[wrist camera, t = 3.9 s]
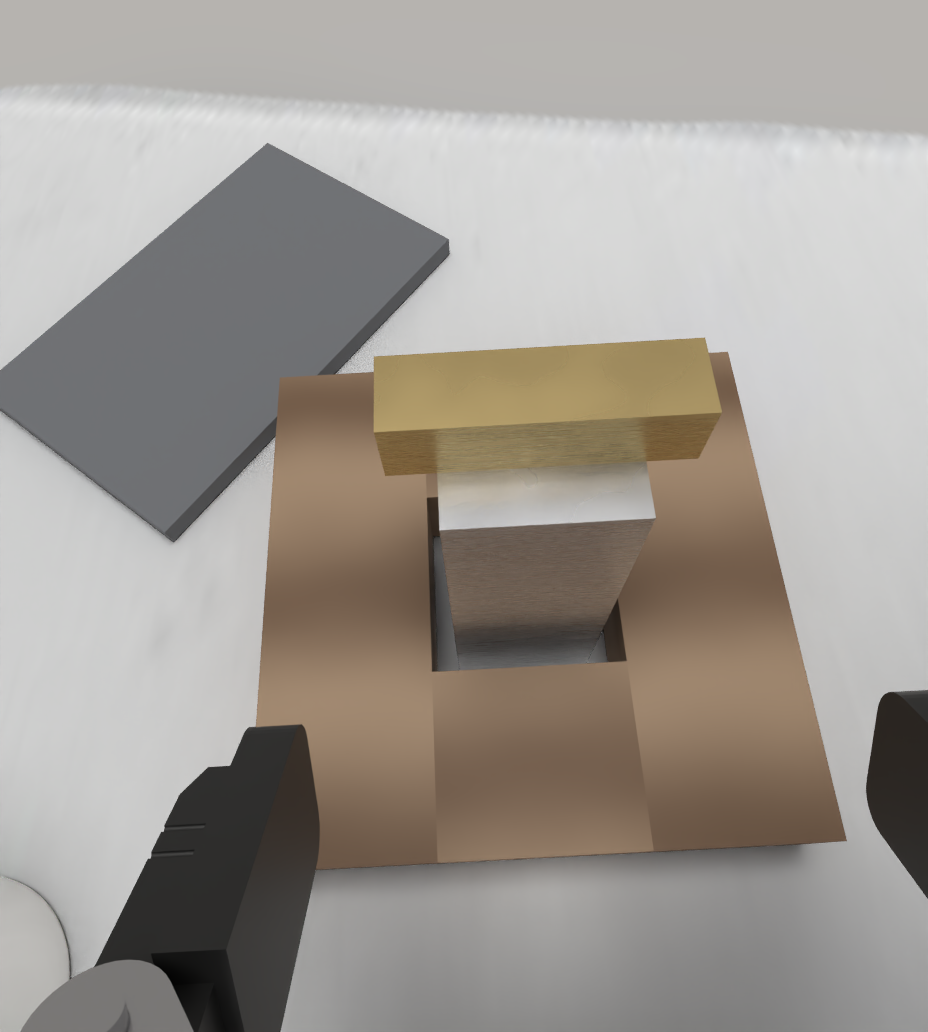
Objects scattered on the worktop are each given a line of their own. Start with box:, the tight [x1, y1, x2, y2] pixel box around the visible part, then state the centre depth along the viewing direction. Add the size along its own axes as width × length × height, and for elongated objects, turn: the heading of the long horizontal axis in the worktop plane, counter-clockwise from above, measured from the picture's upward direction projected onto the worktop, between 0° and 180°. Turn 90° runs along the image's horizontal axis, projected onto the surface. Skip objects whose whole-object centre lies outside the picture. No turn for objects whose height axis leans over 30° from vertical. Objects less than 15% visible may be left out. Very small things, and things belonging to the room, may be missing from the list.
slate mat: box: [0, 143, 450, 542], centre depth 30 cm, size 16×10×1 cm, turn 144°
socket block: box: [256, 352, 847, 870], centre depth 23 cm, size 15×15×3 cm
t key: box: [374, 338, 722, 670], centre depth 19 cm, size 6×4×13 cm, turn 93°
